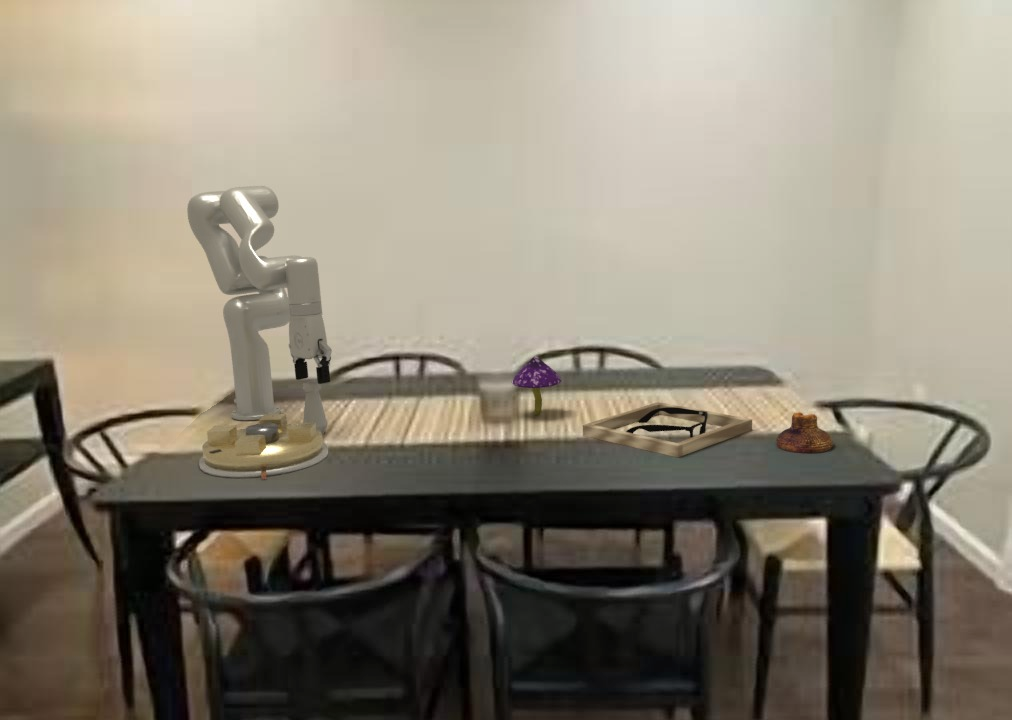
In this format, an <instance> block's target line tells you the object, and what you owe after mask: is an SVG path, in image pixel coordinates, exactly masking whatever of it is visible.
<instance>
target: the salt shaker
mask: <svg viewBox="0 0 1012 720" xmlns="http://www.w3.org/2000/svg"><path fill="white" fill-rule="evenodd" d="M302 390H303V392H305V395H304V396H305V398H304V407H303V408H304V409H303V418H302V419H303V421H302V423H316V429H317V430H319V431H320V432H321V433H322V435H324V433H325V430H326V429H327V426H328V421H327V420H328V419H327V417H326V413H325V409H324V406H323V405H324V404H323V402H322V398H321V395H320V391H321V390H322V384H318V381H317V379H310V380H307V381H304V382H303V383H302Z"/></svg>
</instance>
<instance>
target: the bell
mask: <svg viewBox="0 0 1012 720" xmlns="http://www.w3.org/2000/svg"><path fill="white" fill-rule="evenodd" d="M775 441H776V442H775V444H776V447H777V448H779V449H780V450H783V451H785V452H791V453H798V454H819V453H820V454H821V453H824V452H827V451H831V449H832V448H833V447H834V443H833V439H832V437H831V436H830V434H829V433H828V432H827V431H825V430H823V429H822V428H820V427H819V426H818V416H817V415H816V414H815V413H814V414H813V413H811V414H804V413H803V412H800V411H799V412H794V413H793V414H792V415H791V426H790V427H788V428H785V429H784V430H782V431H780V433H779V434H778V435H777V437H776V439H775Z"/></svg>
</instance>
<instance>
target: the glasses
mask: <svg viewBox="0 0 1012 720" xmlns="http://www.w3.org/2000/svg"><path fill="white" fill-rule="evenodd" d="M659 411H664V412H666V413H669V414H701V416H705V420H704V422H697V423H695V424H694V425H691V426H682V425H680V426H679V425H671V424H670V425H668V424H647V423H648V422H649V421H650V420H651V419H652V418H653V417H655V416H656V415H655V414H656V413H657V412H659ZM705 411H706V410H704V411H697V410H691V409H684V408H675V407H665V408H659V409H655V410H653V411H651V412H649V413H648V414H646V415H645V416H644V417H642V418H641V419H640V420H639V421H638V423H640V424H641V423H642V424H641V425H637V426H636V425H635V426H633V427H630V428H629V429H627V430H625V432H628V433H633V434H635V432H636V431H638V430H644V431H646V432H650V433H655V432H671V431H672V432H674V431H685V432H689V438H692V437H694V430H695V428H697V427H698V426H700V428H699V434H698V435H700V434H703V433H706V430H707V429H706V428H707V423H706V422H707V417H708V414H707V412H705ZM654 415H655V416H654Z"/></svg>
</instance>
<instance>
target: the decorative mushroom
mask: <svg viewBox="0 0 1012 720" xmlns="http://www.w3.org/2000/svg"><path fill="white" fill-rule="evenodd" d="M512 380H513V383H512V385H513V386H515V387H518V388H524V389H526V388H527V389H532V393H533V397H534V411H533V414H534V415H535V416H540V415H542V413H543V411H542V409H543V408H542V407H543V398H542V393H541V389H542V388H549V387H554V386H557V385H559V384H560V383H561V382H562V380H563V379H562V377H561V376H560V375H559V374H558V373H557V372H556V371H555V370H554V369H553V368H552V367H551V366H549V365H548V364H547V363H546V362H544V361H543V360H542V359H541V358H540V357H539V356H533V357H532V358H531V359H530V360H529V361H528V362H527V363H526V364H525V365H524V366H523V367H522V368H521V369H520V370H519V371H518V372H517V374H515V375H514V377H513V379H512Z"/></svg>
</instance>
